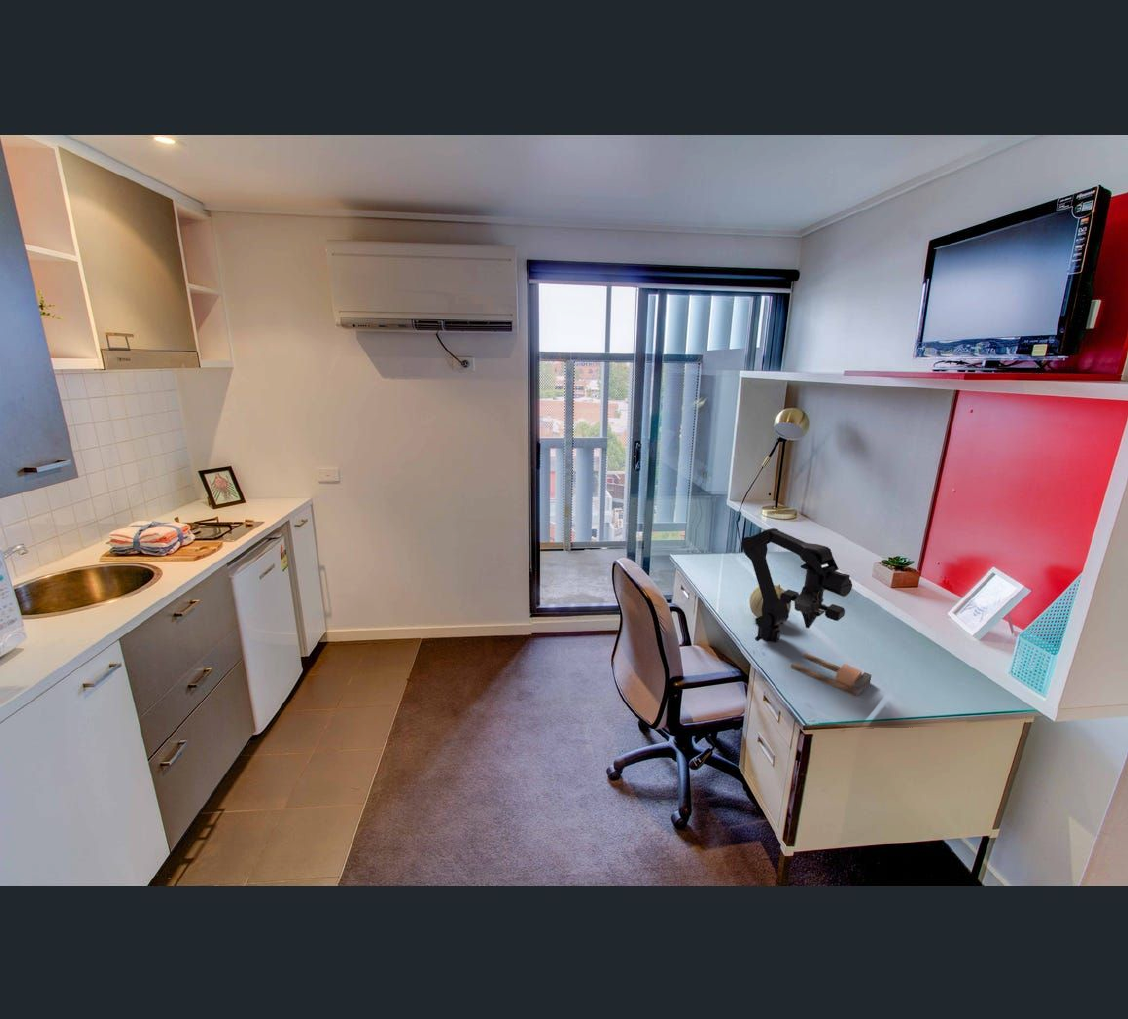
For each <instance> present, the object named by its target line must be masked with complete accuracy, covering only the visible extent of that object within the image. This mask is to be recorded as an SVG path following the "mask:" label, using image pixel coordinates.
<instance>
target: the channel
mask: <svg viewBox="0 0 1128 1019" xmlns="http://www.w3.org/2000/svg"><path fill="white" fill-rule="evenodd" d="M802 657H803V658H804V659H807V660H809V661H812V662H814V663H816V664H819V665H821V666H823V667H825V668H827V669H830V670H833V671H835V672H837V671H838V670H839V669H840V668H841V667H842V666H839V665H838V666H837V665H836V664H833V663H831V662H828V661H826V660H824V659H821V658H818V657H816V656H814V655H811V654H809V653H807V652H804V653H803V654H802ZM790 667H791V669H792V668H793V669H795V670H796V671H798V672H802V673H803V674H806V675H808V676H809V677H813V678H815V679H817V680H819V681H822V682H824V683H826V684H829V685H830V686H833V687H834V688H835V687H836V688H837V689H839V690H842V691H844V692H847V693H849V694H851V695H853V696H856V697H859V696H860V695H861V694H862V693H863V691H865V690H866V688H867V687H868V686H870V684H871V680H872V674H871V673H868V672H865V671H864V672H862V674H861V676H860V677H859V678H858V679H857V681H856V682H855V683H854V684H853V685H852V688H850V687H848V686H846V685H843V684H841V683H839V682H837V681H835V679H832V678H830V677H827V676H825V675H822V674H820V673H819V672H816V671H814V670H811V669H809V668H806V667H804V666H802V665H800V664H797V663H796V662H791V664H790Z"/></svg>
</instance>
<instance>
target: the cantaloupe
mask: <svg viewBox="0 0 1128 1019" xmlns="http://www.w3.org/2000/svg"><path fill="white" fill-rule="evenodd" d="M774 587H775V590H776V593H777V596H778V598H779V599H780V595H781V593H783V592H785V591H786V590H785V589H783V588H782V587H781V585H780V584H778V585H775V584H774ZM762 604H763V598H762V594H761V591H760V588H759V586H757V587H756V588H755V589H753V591H752V593H751V594H750V597H749V608H750V611H751V613H752V614H753V615H754V616H755V617H756V618H758V617H760V616H762ZM791 607H792V601H791V602H790V603H788V604H787V608H788V610H789V613H788V614H790V612H791Z"/></svg>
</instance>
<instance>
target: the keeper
mask: <svg viewBox="0 0 1128 1019" xmlns="http://www.w3.org/2000/svg"><path fill="white" fill-rule="evenodd" d="M840 667H841V668H840V669H839V670H838V671H836V675H835V679H834V681H837V682H839V683H841V684H843V685H846V686H848V687H850V688H852V685H853V684H854V683H855V682H856V681H857V679H858V678H859V677H860V676H861V675H862V674H863V671H862V670H860V669H858V668H855V667H853V666H850V665H848V664H845V663H844V664H843V665H842V666H840Z"/></svg>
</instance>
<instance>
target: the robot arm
mask: <svg viewBox="0 0 1128 1019" xmlns="http://www.w3.org/2000/svg"><path fill="white" fill-rule="evenodd" d="M740 543H741V548H742V551H743V552H744V553H743V554H744V555H745V556H746V557H747V558H748V559H749V560H750V561H751V564H752V566H753V570H754V574H755V577H756V581H757V584H758V587H759V588H760V591H761V594H762V598H763V604H762V616H760V617H756V618H755V625H757V626H758V630H757V635H756V636H755V637H754V639H755V640H756V641H760V640H763V641H766V642H772V643H778V642H779V641H780V638H781V630H780V629H781V625H783V624H784V623H785V622H787V621H788V619H789V617H790V615H789V614H790V612H789V610H788V608H787V604H788V603H790V602H791V603H792V602H793V603H794V610H795V611H797V612H801V615H802V618H803V621H804V626H805V628H806V629H810V628H811V626H812V625H813V623H814V622H815V621H816V618H817V617H820V616H822V615H823V614H824V616H825V617H826V618H827V619H830V620H833V621H835V622H836V621H840V620H841V619H842V618H844V617H845V615H846V609H845V608H844V607H843V606H840V605H837V604H834V603H832V604H830V605H829V606H828V605H826V604H824V603H823V602H824V597H823V596H824V591H828V592H830V593H833V594H835V595H837V596H840V597H843V598H845V597H847V596H848V595H849V594H850V592H851V591H852V589H853V583H852V580H851V579H850V577H851V576H850V574H847V573H842V572H839V567H838V565H837V562H836V560H835V558H834V556H833V552H832V550H831V548H829V547H828V546H825V545H821V544H818V543H809V542H805V541H803V540H801V539H799V538H796V537H794V536H792V535H790V534H787V533H785V532H783V531H782V530H781V531H780V529H778V528H775V527H771V528H768V529H764V530H763V531H761V532H759V533H757V534H753V535H749V536H748V535H747V536H745V537H743V539H742V541H741V542H740ZM771 543H773V544H775V545H776V546H779V547H781V548H783V549H785V550H787V551H790V552H791V553H793V554H796V555H797V556H799V557H800V560H802V561H803V562H805V563H803V564H801V565H800V568H801V569H804V570H806V573H805V577H804V578H805V579H804V586H802V589H801V591H800V593H799V591H795V590H791V589H790V588H788V589H787V590H784V591H785V592H783V593H781V595H780V599H779V598H778V596H777V593H776V590H775V587H774V585H775V584H774V580H773V577H772V574H771V570H770V567H769V564H768V561H767V554H768V550H769V549H768V544H771ZM822 566H823V567H822ZM788 613H789V614H788Z"/></svg>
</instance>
